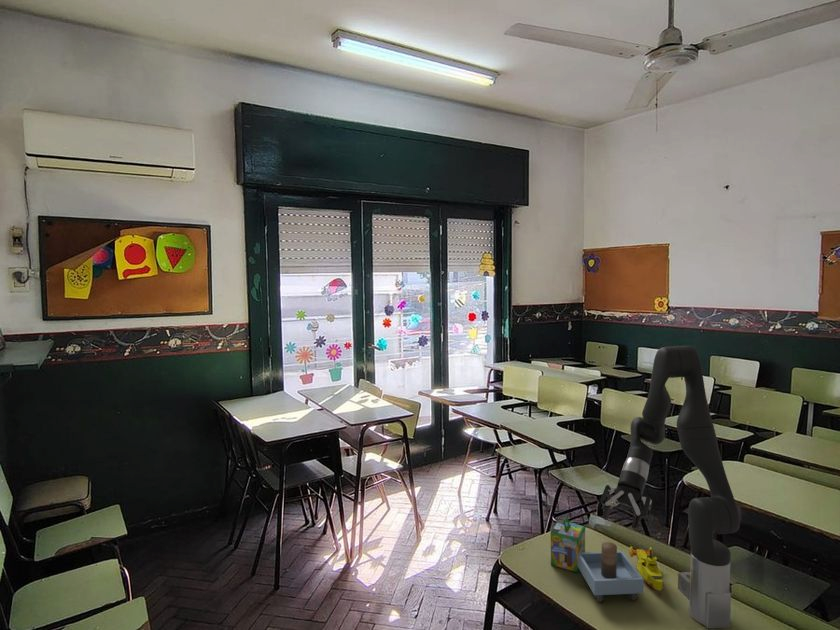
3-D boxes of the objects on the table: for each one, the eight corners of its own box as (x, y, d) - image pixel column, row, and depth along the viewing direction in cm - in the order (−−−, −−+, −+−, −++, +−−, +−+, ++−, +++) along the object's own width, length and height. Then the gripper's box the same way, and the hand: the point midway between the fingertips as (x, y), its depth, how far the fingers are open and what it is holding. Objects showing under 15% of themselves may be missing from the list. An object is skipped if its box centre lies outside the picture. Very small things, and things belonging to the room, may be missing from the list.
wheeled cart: (643, 603, 141) (643, 579, 140) (594, 605, 140) (594, 581, 140) (621, 573, 155) (622, 550, 154) (577, 575, 154) (577, 552, 154)
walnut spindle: (618, 578, 145) (619, 549, 144) (604, 579, 145) (604, 550, 144) (612, 570, 149) (613, 541, 148) (599, 570, 149) (599, 542, 148)
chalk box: (578, 574, 155) (579, 528, 153) (549, 565, 160) (549, 521, 158) (586, 559, 163) (586, 515, 161) (558, 551, 168) (558, 509, 166)
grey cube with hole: (677, 588, 147) (678, 572, 147) (693, 587, 148) (694, 571, 147) (688, 599, 142) (689, 583, 142) (704, 598, 143) (705, 581, 142)
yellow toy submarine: (649, 562, 160) (649, 532, 160) (671, 599, 143) (672, 565, 142) (628, 561, 161) (628, 531, 160) (648, 598, 143) (649, 565, 142)
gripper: (608, 464, 161) (592, 511, 154) (654, 476, 151) (640, 526, 144) (614, 474, 165) (599, 521, 158) (660, 486, 156) (646, 536, 148)
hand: (619, 523), depth 151 cm, fingers open, 8 cm apart
